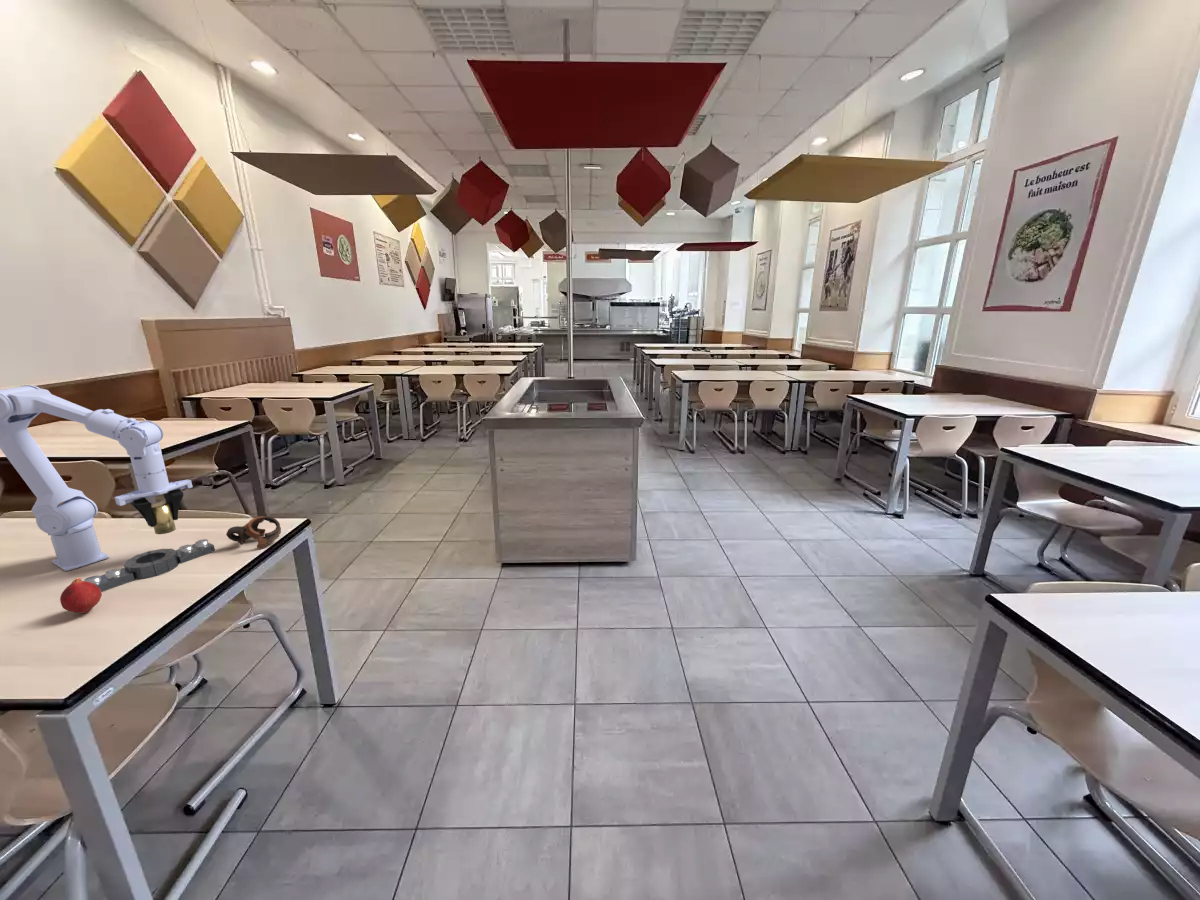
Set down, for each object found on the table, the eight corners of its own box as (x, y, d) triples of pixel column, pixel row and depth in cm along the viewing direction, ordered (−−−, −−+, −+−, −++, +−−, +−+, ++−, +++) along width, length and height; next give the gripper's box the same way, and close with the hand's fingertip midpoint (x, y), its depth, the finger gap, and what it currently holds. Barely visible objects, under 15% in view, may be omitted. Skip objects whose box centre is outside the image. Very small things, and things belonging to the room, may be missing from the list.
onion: (79, 622, 99) (68, 588, 96) (58, 619, 100) (46, 584, 97) (112, 606, 104) (102, 573, 102) (91, 603, 105) (81, 570, 103)
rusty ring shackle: (275, 532, 140) (281, 512, 137) (279, 557, 135) (285, 537, 131) (223, 534, 132) (228, 512, 128) (224, 561, 126) (230, 539, 123)
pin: (152, 532, 123) (145, 506, 121) (171, 526, 126) (165, 501, 124) (159, 535, 121) (152, 509, 119) (178, 529, 124) (172, 504, 122)
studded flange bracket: (78, 586, 111) (74, 575, 110) (201, 544, 131) (199, 534, 131) (95, 598, 107) (91, 586, 106) (219, 553, 127) (217, 542, 126)
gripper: (118, 483, 111) (133, 537, 115) (193, 466, 123) (204, 515, 127) (105, 477, 114) (120, 530, 118) (179, 462, 127) (191, 510, 130)
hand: (163, 522), depth 123 cm, fingers closed on pin, 4 cm apart
